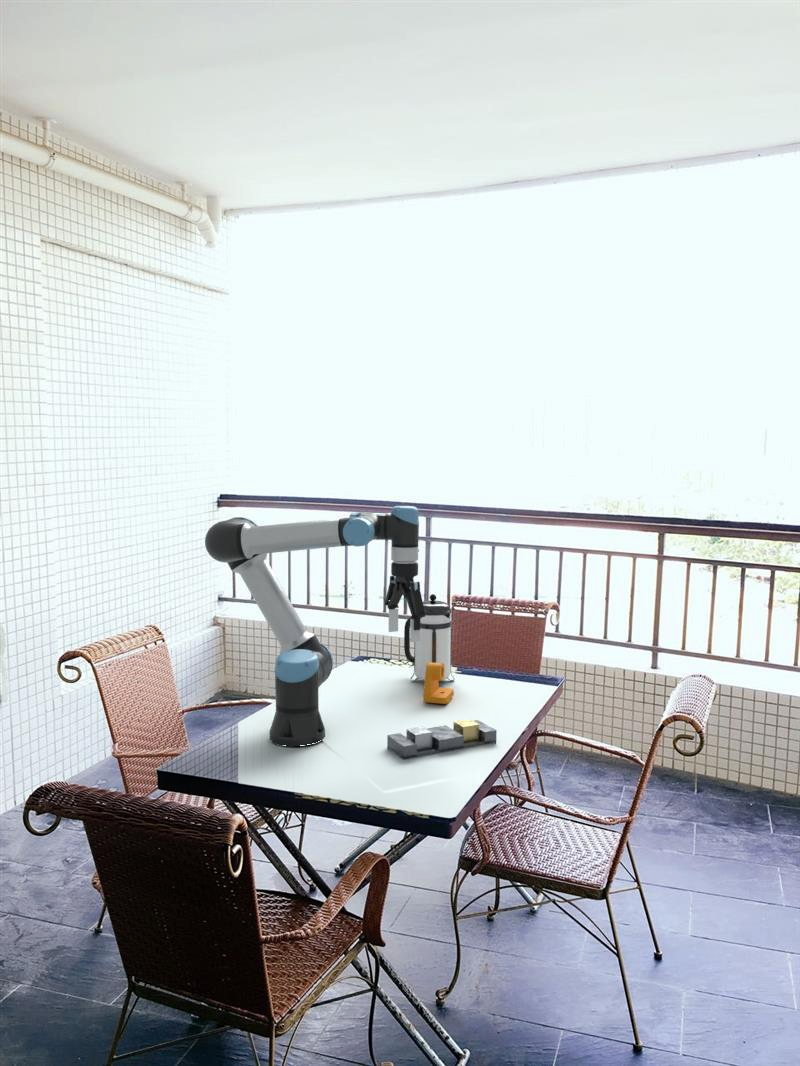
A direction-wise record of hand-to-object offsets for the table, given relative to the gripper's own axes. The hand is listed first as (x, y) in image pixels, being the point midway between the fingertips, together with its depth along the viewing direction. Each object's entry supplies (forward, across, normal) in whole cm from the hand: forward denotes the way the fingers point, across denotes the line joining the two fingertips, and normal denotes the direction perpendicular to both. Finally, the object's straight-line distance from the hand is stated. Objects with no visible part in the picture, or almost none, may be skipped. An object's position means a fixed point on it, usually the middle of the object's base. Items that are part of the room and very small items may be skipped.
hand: (403, 636), depth 243 cm
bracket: (+27, +18, -22) cm, 39 cm away
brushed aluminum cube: (+26, -19, +5) cm, 32 cm away
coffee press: (+27, +40, -30) cm, 56 cm away
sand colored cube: (+26, -19, -10) cm, 33 cm away
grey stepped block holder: (+26, -19, -2) cm, 32 cm away
